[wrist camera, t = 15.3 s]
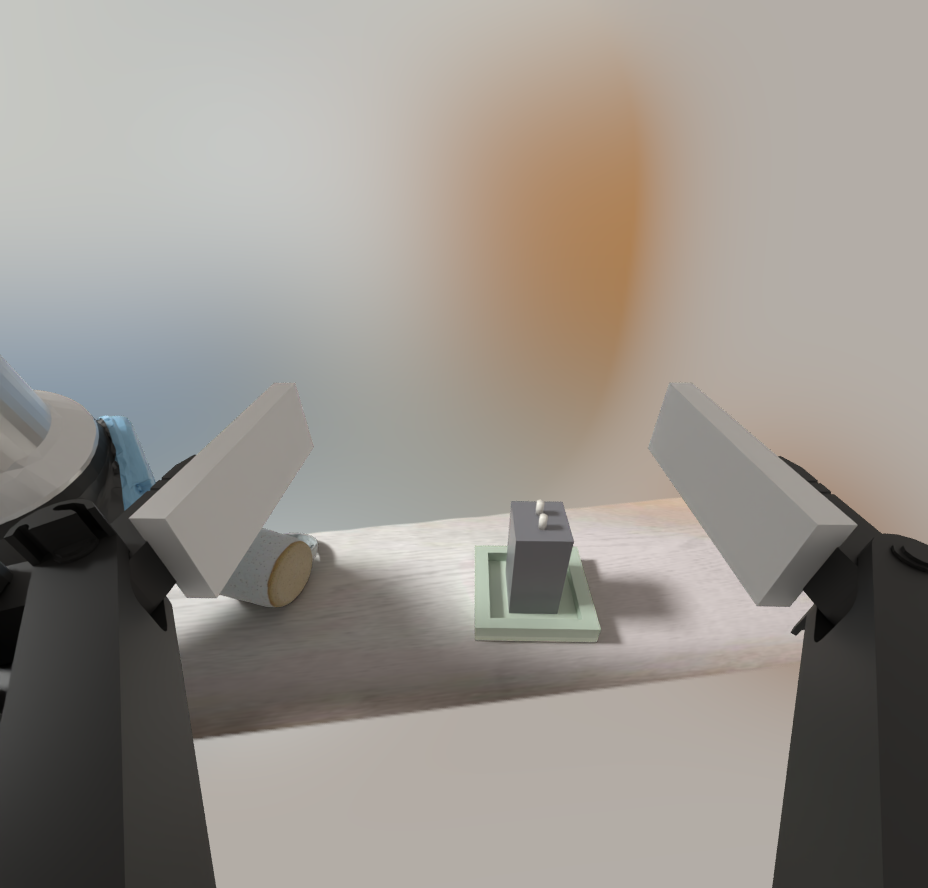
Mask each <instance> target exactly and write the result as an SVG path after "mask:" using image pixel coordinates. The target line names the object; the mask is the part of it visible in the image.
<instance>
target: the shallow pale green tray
mask: <svg viewBox="0 0 928 888" xmlns="http://www.w3.org/2000/svg"><path fill="white" fill-rule="evenodd" d="M507 547H508V546H475V640H486V641H542V642H597V640H598V637H599V634H600V631H601V628H600V624H599V621H598V617H597V614H596V611H595V607H594V604H593V600H592V597H591V593H590V590H589V587H588V583H587V580H586V576H585V573H584V570H583V566H582V563H581V559H580V556H579V552H578V549H577V547H573V548H572V552H571V557H570V561H569V565H568V570H567V574H566V579H565V583H564V587H563V592H562V596H561V600H560V605H559V609H558V613H557V614H520V613H509V610H508V598H507V585H506V573H505V572H506V559H507Z"/></svg>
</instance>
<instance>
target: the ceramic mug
mask: <svg viewBox="0 0 928 888" xmlns="http://www.w3.org/2000/svg"><path fill="white" fill-rule="evenodd" d="M310 548H311V549H310ZM317 551H318V542H317V540H316V538H314V537H313V536H310V535H308V534H304V533H285V534H280V533H277V532H274V531H271V530H268V529H264V528H262V529H261V530H260V532H259V533H258V535H257V536H256V538H255V539H254V541H253V543H252V544H251V546H250V547H249V549H248V550H247V552H246V554H245V555H244V557H243V558H242V560H241V561H240V563H239V564H238V566H237V568H236V569H235V571H234V572H233V574H232V575H231V577H230V578H229V580H228V582H227V583H226V585H225V586H224V588H223V589H222V591H221V593H220V594H219V595H223V596H227V597H230V598H234V599H238V600H242V601H247V602H251V603H254V604H257V605H261V606H266V607H282V606H285V605H287V604H289V603H290V602H292V601H293V600H294V599H295V598H296V597H297V596H298V595H299V594H300V593H301V591H302V590H303V588H304V586H305V584H306V583H307V581H308V578H309V575H310V572H311V568H312V560H313V559H314V557H315V556H316V555H317Z"/></svg>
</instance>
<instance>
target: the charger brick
mask: <svg viewBox="0 0 928 888" xmlns="http://www.w3.org/2000/svg"><path fill="white" fill-rule="evenodd" d="M573 544H574V540H573V537H572V533H571V530H570V526H569V523H568V519H567V516H566V512H565V509H564V505H563V502H544V501H543V500H538V501H537V502H528V501H525V502H524V501H512V502H511V511H510V522H509V535H508V547H507V559H506V572H505V573H506V585H507V598H508V610H509V613H520V614H557V613H558V609H559V605H560V600H561V596H562V592H563V587H564V583H565V579H566V574H567V570H568V565H569V561H570V557H571V552H572V548H573Z"/></svg>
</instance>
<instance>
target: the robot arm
mask: <svg viewBox="0 0 928 888" xmlns="http://www.w3.org/2000/svg"><path fill="white" fill-rule="evenodd" d="M313 447H314V446H313V442H312V439H311V435H310V432H309V428H308V425H307V422H306V418H305V415H304V411H303V408H302V404H301V401H300V397H299V394H298V391H297V387H296V384H295V383H273V384H272V385H271V386H270V387H269V388H268V389H267V390H266V391H265V392H264V393H263V394H262V395H261V396H259V398H258V399H256V400H255V401H254V402H253V403H252V404H251V405H250V406H249V407H248V408H247V409H246V410H245V411H243V412H242V413H241V414H240V415H239V416H238V417H237V418H236V419H235V420H234V421H233V422H232V423H231V424H229V425H228V426H227V427H226V428H225V429H224V430H223V431H222V432H221V433H220V434H219V435H218V436H217V437H216V438H214V439H213V440H212V441H211V442H210V443H209V444H208V445H207V446H206V447H205V448H204V449H203V450H201V451H200V452H199V453H198V454H197V455H193V456H191V457H189V458H188V459H186V460H184V461H182V462H181V463H179V464H177V465H175V466H174V467H173V468H172V469H171V470H170V471H169V472H168V473H166V474H165V475H164V476H163V477H162V480H159V481H157V482H155V479H154V476H153V474H152V471H151V469H150V466H149V463H148V461H147V459H146V456H145V454H144V451H143V449H142V446H141V444H140V441H139V439H138V436H137V434H136V432H135V429H134V427H133V425H132V423H131V422H130V421H129V420H128V418H126V417H123V416H111V417H110V416H102V417H99V418H98V419H97V420H95V419H94V418H93V416H92V415H91V414H90V413H89V412H88V411H87V410H86V409H85V408H84V407H83V406H82V405H80V404H79V403H77V402H76V401H74V400H72V399H70V398H67V397H65V396H62V395H59V394H55V393H51V392H46V391H40V390H32V389H31V387H29V385H28V384H27V383H26V382H25V381H24V380H23V379H22V378H21V377H20V376H19V375H18V373H17V372H16V371H15V370H14V369H13V368H12V367H11V366H10V365H9V364H8V363H7V361H5V359H4V358H3V357H2V356H1V355H0V888H216V884H215V878H214V871H213V865H212V858H211V853H210V845H209V839H208V833H207V826H206V820H205V813H204V807H203V801H202V794H201V788H200V782H199V775H198V769H197V762H196V756H195V750H194V743H193V737H192V730H191V724H190V718H189V711H188V705H187V698H186V692H185V686H184V679H183V673H182V667H181V660H180V654H179V647H178V641H177V635H176V628H175V622H174V615H173V609H172V604H171V603H170V601H169V599H168V598H167V597H166V595H167V594H168V592H169V591H170V590H171V588H172V587H173V586H174V585H175V583H176V584H177V585H178V587H179V588H180V589H181V591H182V592H183V593H184V595H185V596H186V598H217V597H218V596H219V594H220V593H221V591H222V589H223V588H224V586H225V585H226V583H227V582H228V580H229V578H230V577H231V575H232V574H233V572H234V571H235V569H236V568H237V566H238V564H239V563H240V561H241V560H242V558H243V557H244V555H245V554H246V552H247V550H248V549H249V547H250V546H251V544H252V543H253V541H254V539H255V538H256V536H257V535H258V533H259V532H260V530H261V529H262V527H263V525H264V524H265V522H266V521H267V519H268V518H269V516H270V515H271V513H272V511H273V510H274V508H275V507H276V505H277V504H278V502H279V500H280V499H281V497H282V496H283V494H284V493H285V491H286V490H287V488H288V486H289V485H290V483H291V482H292V480H293V479H294V477H295V475H296V474H297V472H298V471H299V469H300V468H301V466H302V465H303V463H304V461H305V460H306V458H307V457H308V455H309V454H310V452H311V451H312V449H313ZM648 449H649V450H650V452H651V453H652V455H653V456H654V457H655V459H656V460H657V462H658V463H659V464H660V466H661V468H662V469H663V471H664V472H665V473H666V475H667V476H668V478H669V479H670V481H671V482H672V484H673V485H674V487H675V488H676V489H677V491H678V492H679V494H680V495H681V497H682V498H683V500H684V501H685V503H686V504H687V505H688V507H689V508H690V510H691V511H692V513H693V514H694V516H695V517H696V518H697V520H698V521H699V523H700V524H701V526H702V527H703V529H704V530H705V532H706V533H707V534H708V536H709V537H710V539H711V540H712V542H713V543H714V545H715V546H716V547H717V549H718V550H719V552H720V553H721V555H722V556H723V558H724V559H725V561H726V562H727V563H728V565H729V566H730V568H731V569H732V571H733V572H734V574H735V575H736V577H737V578H738V579H739V581H740V582H741V584H742V585H743V587H744V588H745V590H746V591H747V592H748V594H749V595H750V597H751V598H752V600H753V601H754V603H755V604H756V606H776V607H790V606H791V605H792V603H793V602H794V601H795V600H796V599H797V597H798V596H799V595H800V594H801V593H802V591H804V592H805V593H806V594H807V595H808V597H809V598H810V599H811V600H812V601H813V603H814V605H813V606H812V607H811V608H810V609H809V611H808V612H807V613H806V614H805V615H804V616H803V617H802V618H801V620H800V621H799V622H798V623H797V624H796V625H795V626H794V628H793V629H792V631H791V633H792V634H794V635H796V636H797V634H798V633H799V632H800V631H801V630H805V632H804V640H803V648H802V656H801V664H800V672H799V680H798V688H797V696H796V703H795V711H794V719H793V728H792V736H791V743H790V751H789V759H788V768H787V775H786V783H785V791H784V799H783V807H782V815H781V822H780V831H779V839H778V846H777V854H776V862H775V870H774V878H773V887H772V888H928V545H926V544H924V543H921V542H919V541H917V540H915V539H911V538H908V537H904V536H901V535H895V534H882V533H880V532H879V531H878V530H877V529H875V528H874V527H873V526H872V525H871V524H869V523H868V522H867V521H866V520H865V519H863V518H862V517H861V516H860V515H858V514H857V513H856V512H855V511H854V510H852V509H851V508H850V507H849V506H848V505H846V504H845V503H844V502H843V501H841V500H840V499H839V498H838V497H837V496H836V495H834V494H831V492H830V490H828V489H827V488H826V487H825V486H824V485H822V484H821V483H818V482H817V480H816V479H815V478H814V477H813V476H811V475H810V474H809V473H808V472H806V471H805V470H804V469H803V468H802V467H800V466H798V465H796V464H794V463H792V462H790V461H789V460H787V459H785V458H783V457H781V456H777V455H776V454H774V453H773V452H772V451H771V450H770V449H768V448H767V447H766V446H765V445H764V444H763V443H762V442H760V441H759V440H758V439H757V438H756V437H755V436H753V435H752V434H751V433H750V432H749V431H748V430H746V429H745V428H744V427H743V426H742V425H740V424H739V423H738V422H737V421H736V420H735V419H734V418H732V417H731V416H730V415H729V414H728V413H727V412H725V411H724V410H723V409H722V408H721V407H720V406H718V405H717V404H716V403H715V402H714V401H713V400H711V399H710V398H709V397H708V396H707V395H706V394H704V393H703V392H702V391H701V390H700V389H699V388H698V387H696V386H695V385H694V384H693V383H669V386H668V389H667V392H666V395H665V398H664V401H663V404H662V407H661V410H660V413H659V416H658V419H657V423H656V425H655V428H654V431H653V435H652V438H651V441H650V444H649V447H648Z"/></svg>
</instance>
